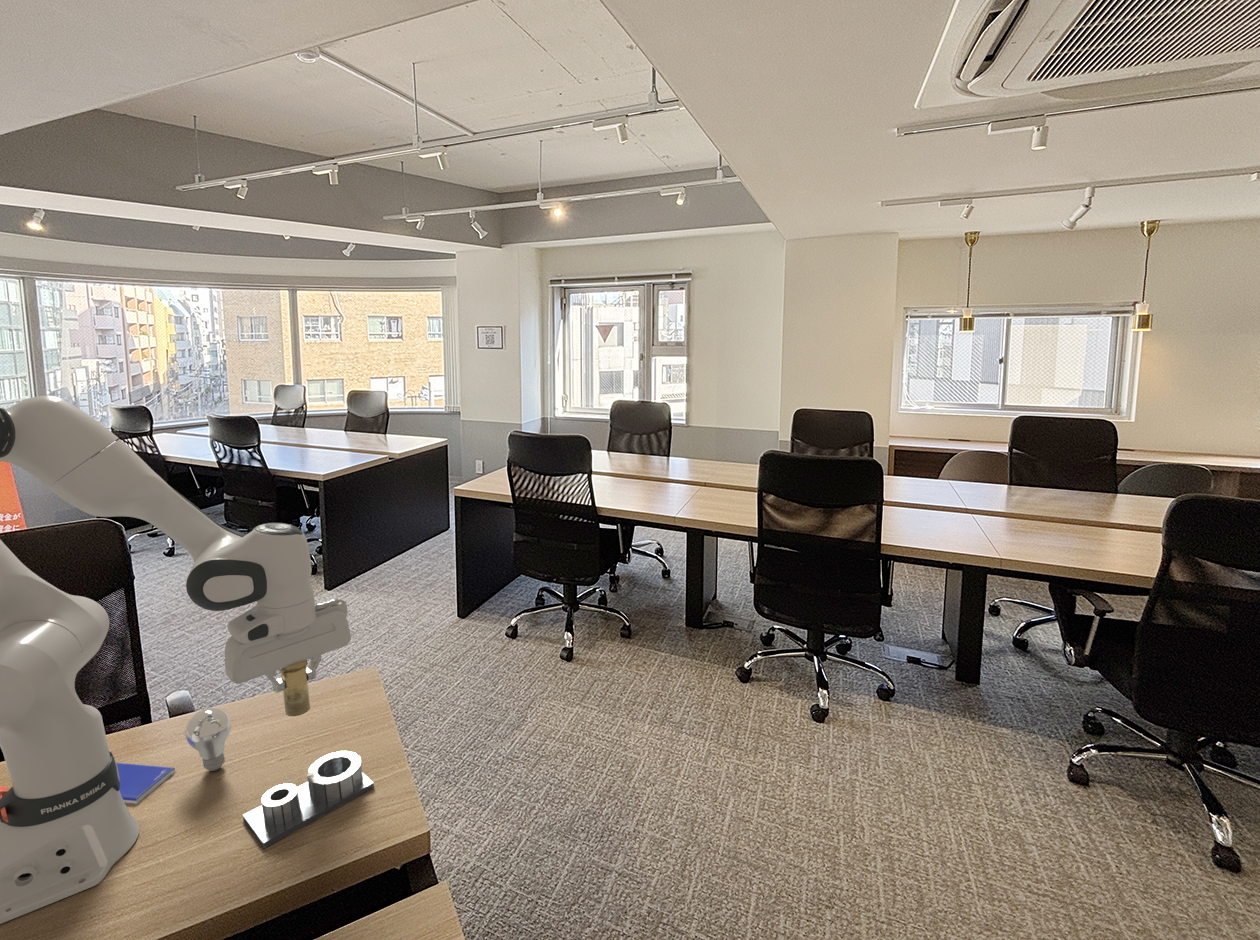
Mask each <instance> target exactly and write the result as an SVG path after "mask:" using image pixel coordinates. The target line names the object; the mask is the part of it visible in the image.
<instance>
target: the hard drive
mask: <svg viewBox="0 0 1260 940" xmlns="http://www.w3.org/2000/svg"><path fill="white" fill-rule="evenodd" d="M116 763H117V767H118V772H119V777H120V782H119V783H120V789H119V790H120V793H121V796H122V798H123V800H124V803H125V804H126V803H127V804H134V805H137V804H139V803H140V802H141V801H142V800H144V799H145V798H146V797H147V796H148V795H150V793H152V792H153V791H155V789H157V788H158V787H159V786H160V785H161V784H162V783H164V782H165V781H166V780H168V779H169V778H170V777H171V776H172V775H174V774H175V773H176V768H175V767H170V766H156V765H146V764H145V765H144V764H135V763H123V762H116Z"/></svg>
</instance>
